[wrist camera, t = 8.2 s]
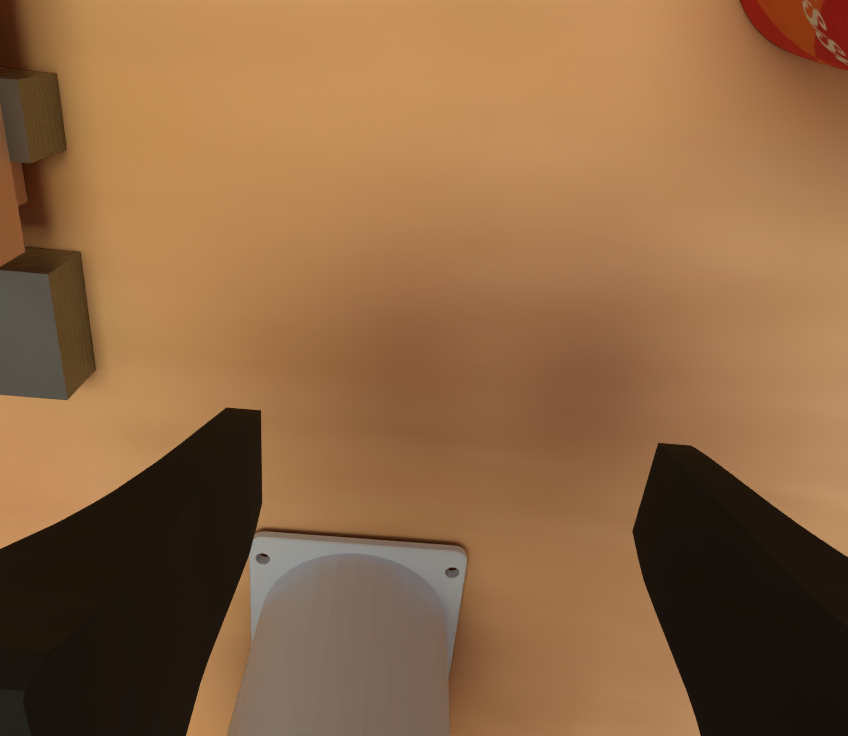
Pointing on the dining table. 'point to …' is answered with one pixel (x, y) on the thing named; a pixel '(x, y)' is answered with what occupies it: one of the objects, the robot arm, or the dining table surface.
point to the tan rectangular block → (10, 202)
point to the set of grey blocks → (40, 264)
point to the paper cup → (804, 27)
